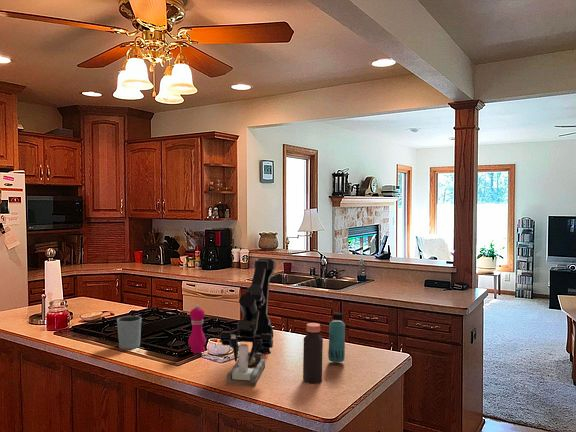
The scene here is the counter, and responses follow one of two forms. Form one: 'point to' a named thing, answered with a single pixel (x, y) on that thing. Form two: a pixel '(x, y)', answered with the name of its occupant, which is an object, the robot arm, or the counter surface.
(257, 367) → the base plate with post
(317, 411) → the counter surface
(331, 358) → the beverage bottle
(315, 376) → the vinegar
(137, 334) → the drinking glass
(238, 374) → the press jaw
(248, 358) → the walnut
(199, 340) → the pepper mill
